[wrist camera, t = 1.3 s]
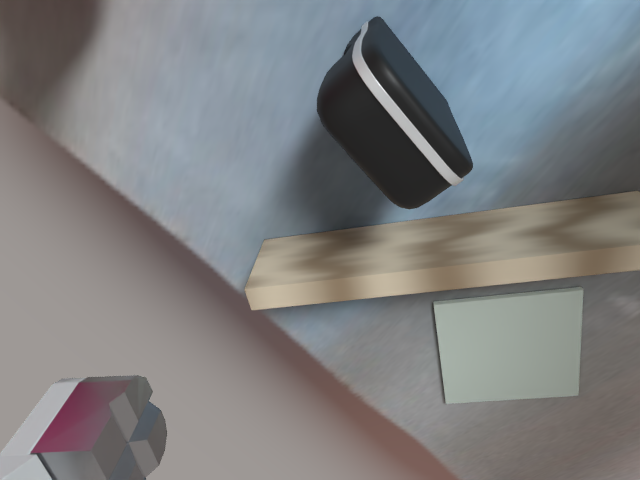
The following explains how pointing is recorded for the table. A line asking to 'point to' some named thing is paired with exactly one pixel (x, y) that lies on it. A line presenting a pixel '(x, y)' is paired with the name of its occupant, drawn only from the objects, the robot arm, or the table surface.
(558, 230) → the wooden plank
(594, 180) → the table surface
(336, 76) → the battery charger
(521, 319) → the mat
